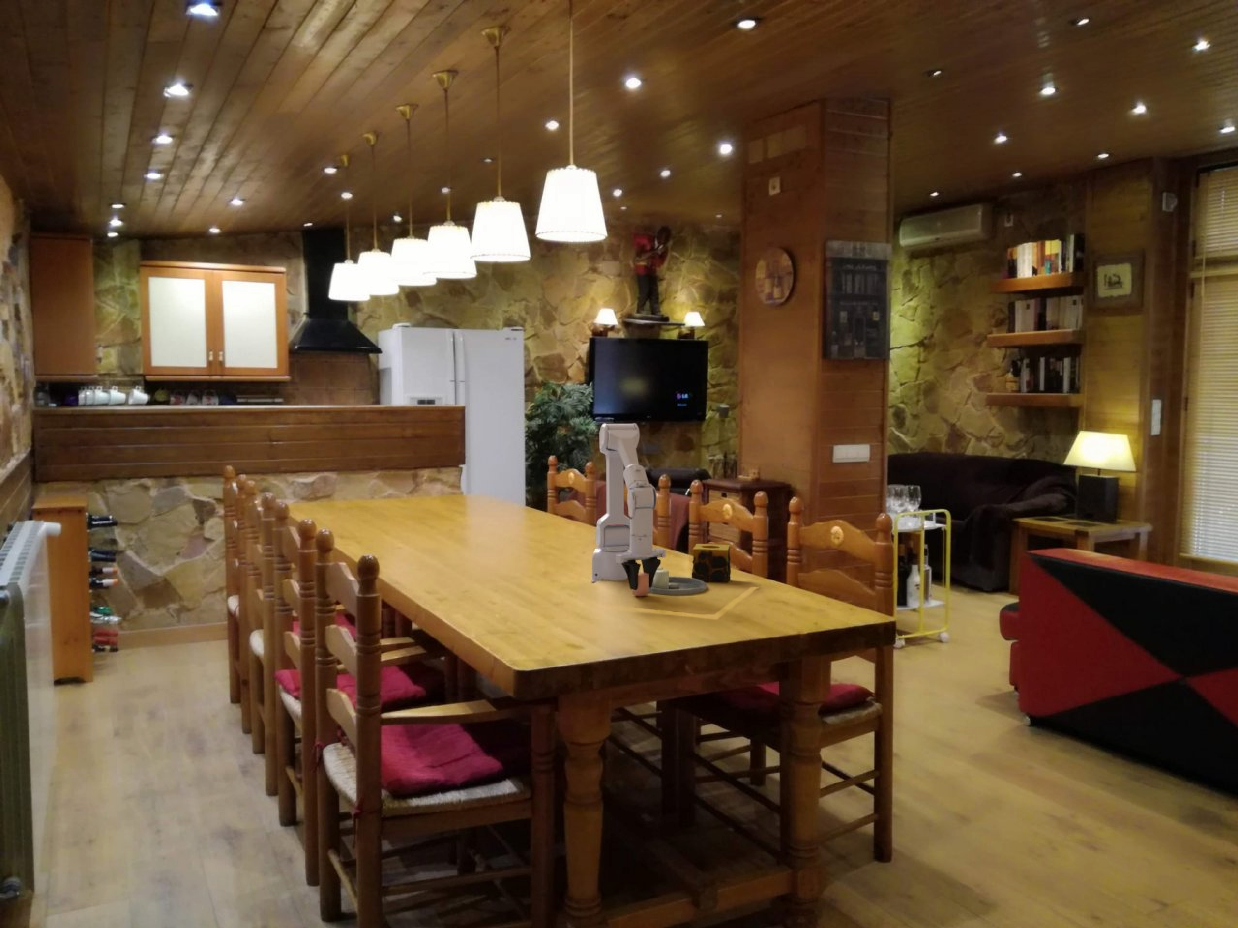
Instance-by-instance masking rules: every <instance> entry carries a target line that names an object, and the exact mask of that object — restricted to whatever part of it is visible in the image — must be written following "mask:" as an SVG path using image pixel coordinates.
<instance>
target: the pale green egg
mask: <svg viewBox="0 0 1238 928" xmlns="http://www.w3.org/2000/svg"><path fill="white" fill-rule="evenodd" d="M669 577H670V571H669V570H668V569H667V570H666V569H663V570H657V571H656V573H655V575H654V579H653V588H659V589H669Z"/></svg>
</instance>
